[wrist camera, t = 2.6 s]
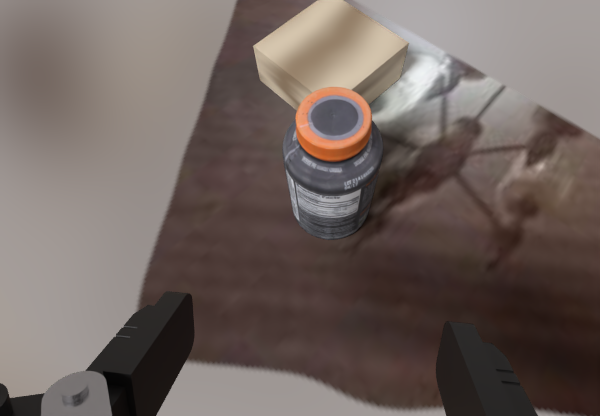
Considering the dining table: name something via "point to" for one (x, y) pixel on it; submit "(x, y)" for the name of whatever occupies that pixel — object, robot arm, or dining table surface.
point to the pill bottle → (332, 162)
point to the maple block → (330, 53)
